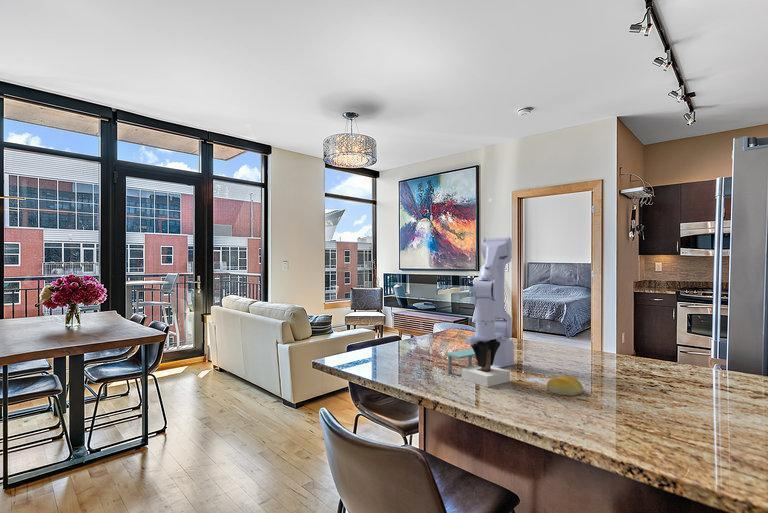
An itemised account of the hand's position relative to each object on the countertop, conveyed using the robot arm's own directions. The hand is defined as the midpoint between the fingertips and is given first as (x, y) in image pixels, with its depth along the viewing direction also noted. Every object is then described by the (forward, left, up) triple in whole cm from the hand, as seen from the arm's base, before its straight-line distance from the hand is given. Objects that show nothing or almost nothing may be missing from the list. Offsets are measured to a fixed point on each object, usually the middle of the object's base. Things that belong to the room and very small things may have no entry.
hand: (485, 365), depth 119 cm
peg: (0, 0, -2) cm, 2 cm away
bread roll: (-10, +19, -5) cm, 22 cm away
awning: (-1, -9, -4) cm, 10 cm away
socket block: (0, 0, -4) cm, 4 cm away
